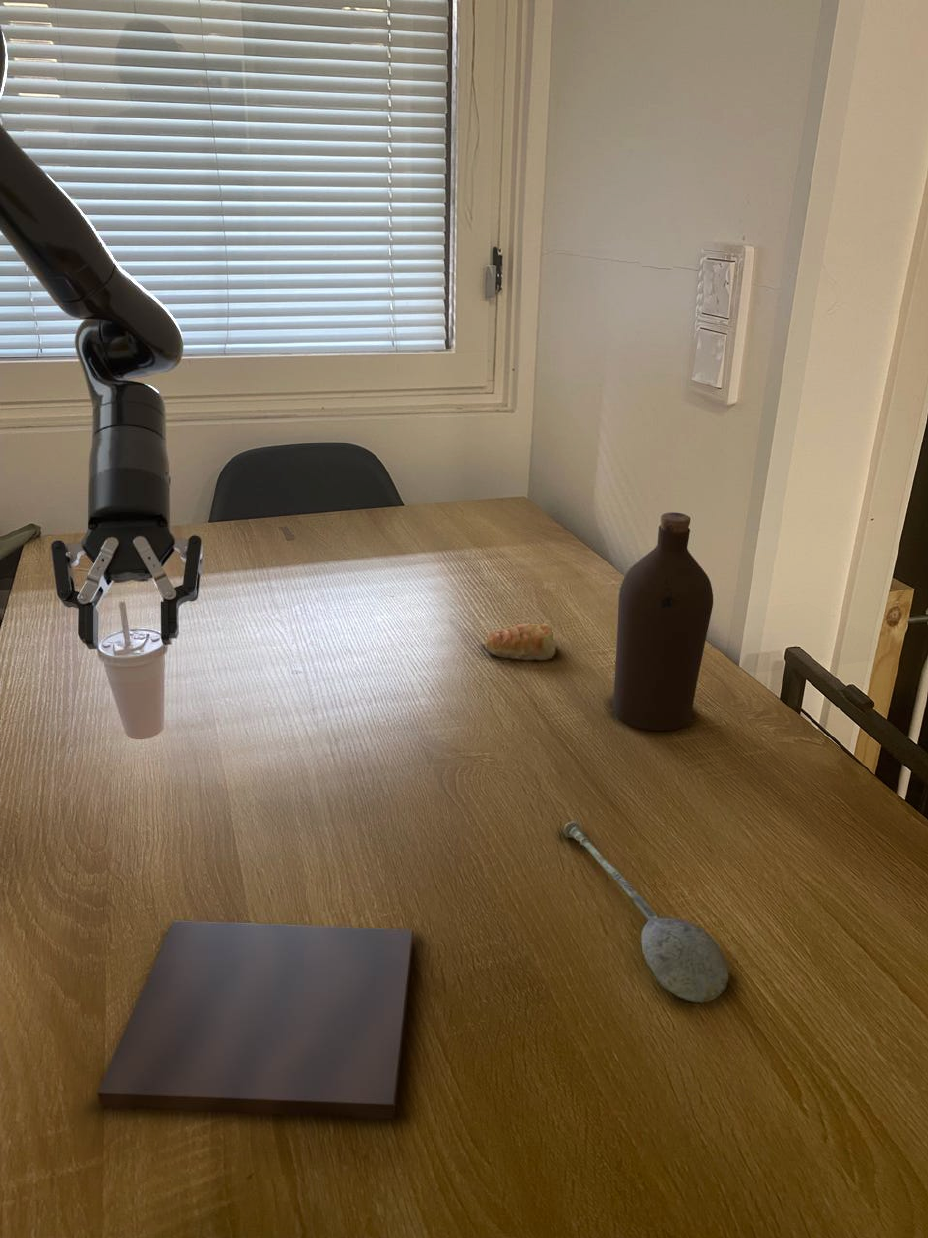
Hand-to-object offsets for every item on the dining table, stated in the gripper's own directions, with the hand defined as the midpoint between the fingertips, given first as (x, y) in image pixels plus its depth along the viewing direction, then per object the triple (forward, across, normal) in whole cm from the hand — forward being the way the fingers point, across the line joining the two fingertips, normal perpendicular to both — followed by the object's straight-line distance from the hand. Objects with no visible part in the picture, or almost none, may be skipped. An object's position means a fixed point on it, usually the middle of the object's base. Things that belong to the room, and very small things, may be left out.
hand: (129, 643), depth 84 cm
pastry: (-6, +46, +32) cm, 56 cm away
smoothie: (+6, 0, +9) cm, 11 cm away
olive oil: (+6, +57, +19) cm, 61 cm away
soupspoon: (+29, +43, -3) cm, 52 cm away
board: (+33, +12, -8) cm, 36 cm away
